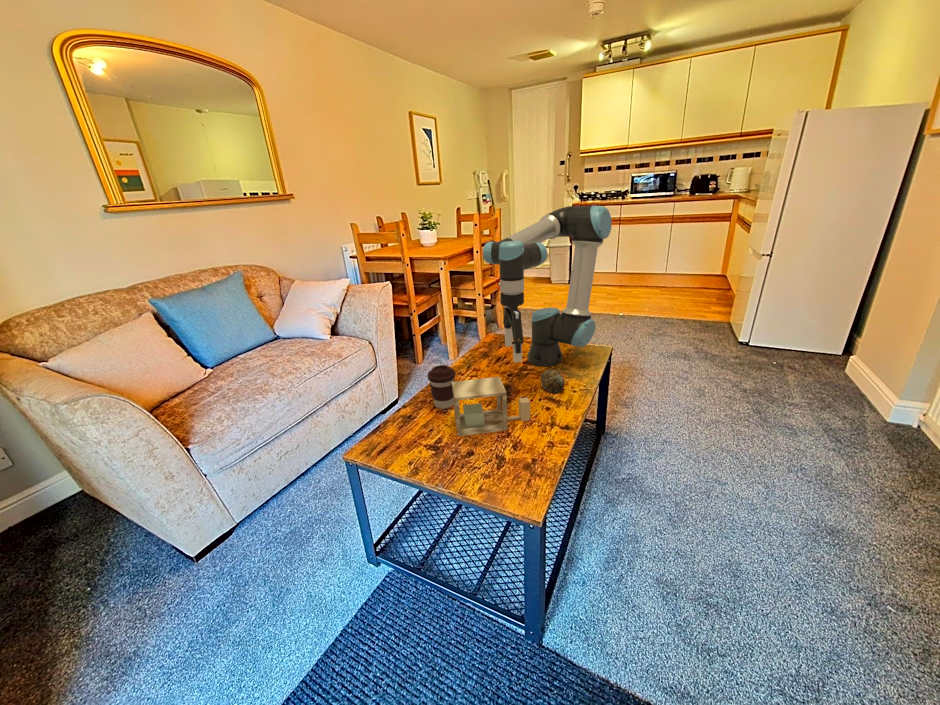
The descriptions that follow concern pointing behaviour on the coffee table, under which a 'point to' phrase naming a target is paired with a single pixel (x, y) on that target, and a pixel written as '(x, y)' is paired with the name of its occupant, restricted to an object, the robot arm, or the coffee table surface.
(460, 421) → the frame
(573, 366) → the coffee table surface
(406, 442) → the coffee table surface
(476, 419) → the tethered block
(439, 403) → the coffee cup
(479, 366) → the coffee table surface
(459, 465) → the coffee table surface
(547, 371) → the seashell
